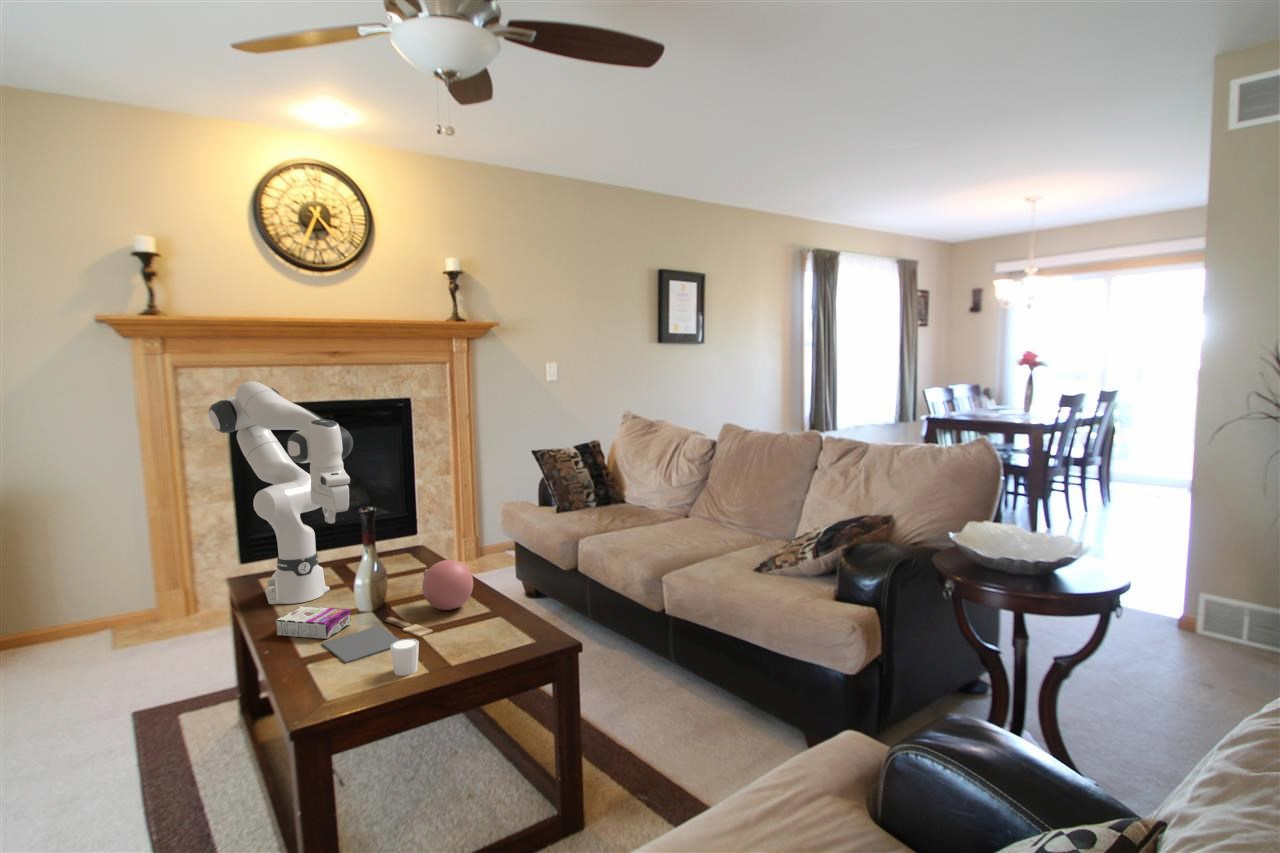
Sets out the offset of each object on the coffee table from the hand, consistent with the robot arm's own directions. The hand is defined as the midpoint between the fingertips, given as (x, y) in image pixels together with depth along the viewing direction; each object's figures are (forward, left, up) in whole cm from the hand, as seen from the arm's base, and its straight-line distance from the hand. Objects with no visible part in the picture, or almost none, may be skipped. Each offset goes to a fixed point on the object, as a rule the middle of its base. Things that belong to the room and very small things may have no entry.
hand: (330, 522), depth 193 cm
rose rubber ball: (+10, +30, -31) cm, 44 cm away
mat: (+19, 0, -31) cm, 37 cm away
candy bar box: (+6, -1, -29) cm, 29 cm away
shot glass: (+43, +1, -31) cm, 53 cm away
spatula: (+18, +14, -31) cm, 39 cm away
